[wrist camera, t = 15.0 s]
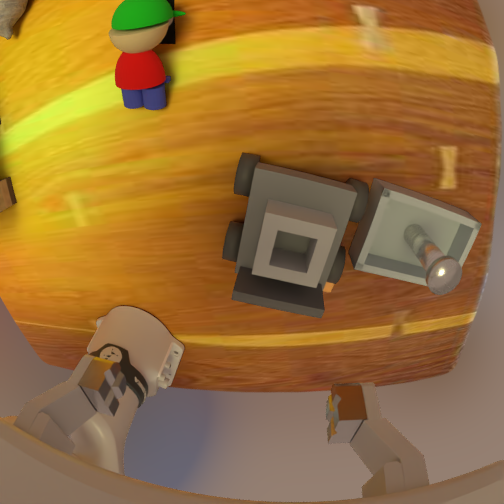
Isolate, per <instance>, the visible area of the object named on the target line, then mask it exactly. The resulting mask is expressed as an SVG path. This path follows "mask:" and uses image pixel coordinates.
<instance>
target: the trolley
mask: <svg viewBox="0 0 504 504" xmlns="http://www.w3.org/2000/svg"><path fill="white" fill-rule="evenodd" d="M234 194H238V195H243V196H247V197H249V201H248V206H247V211H246V216H245V221H244V224H243V223H238V222H233V221H231V222H230V224H229V227H228V230H227V234H226V238H225V242H224V248H223V255H222V258H223V259H225V260H230V261H234V262H237V263H236V268H235V273H238V275H237V279H236V282H235V286H234V289H233V294H232V300H236V301H240V302H245V303H249V304H254V305H258V306H263V307H268V308H272V309H277V310H282V311H287V312H292V313H297V314H302V315H307V316H312V317H317V318H321V317H322V315H323V313H324V310H325V309H324V301H323V293H322V292H323V291H325V292H330V293H331V290H332V288H333V285H334V284H336V283H337V282H338V281H339V279H340V277H341V275H342V272H343V268H344V264H345V248H344V247H342V246H340V244H341V241H342V238H343V235H344V232H345V229H346V226H347V223H348V221H352V222H356V223H358V222H359V221H360V220H361V219H362V217H363V215H364V213H365V210H366V207H367V203H368V197H369V188H368V184H367V183H365V182H361V181H358V180H355V179H351V178H350V179H348V181H347V182H346V183H342V182H339V181H335V180H331V179H327V178H324V177H320V176H316V175H312V174H308V173H304V172H300V171H296V170H291V169H287V168H283V167H278V166H274V165H269V164H265V163H260V156H258V155H253V154H248V153H242V155H241V157H240V160H239V164H238V168H237V172H236V177H235V183H234Z"/></svg>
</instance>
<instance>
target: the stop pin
mask: <svg viewBox="0 0 504 504" xmlns="http://www.w3.org/2000/svg"><path fill="white" fill-rule="evenodd" d="M404 239H405V241H406V242H407V244H408V245H409V247H410V248H411V249H412V251H413V252H414V254H415V255H416V257H417V258H418V260H419V261H420V263H421V265H422V266H423V268H424V269H425V271H426V275H425V280H426V284H427V285H428V287H429V289H430V290H431V292H433V293H434V294H438V295H442V294H446V293H448V292H450V291H451V290H453V289H454V288H455V287H456V286H457V285H458V283H459V281H460V279H461V276H462V268H461V266H460V264H459V263H458V262H457V260H456V259H455V258H454V257H452V256H445V255H444V254H443V252H442V251H441V250H440V249H439V247H438V246H437V245H436V244H435V243H434V241H433V240H432V239H431V238H430V237H429V235H428V234H427V233H426V232H425V231H424V230H423V228H422V227H421V226H420V225H418V224H411V225H409V226H408V227H407V228H406V229H405V231H404Z"/></svg>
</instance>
